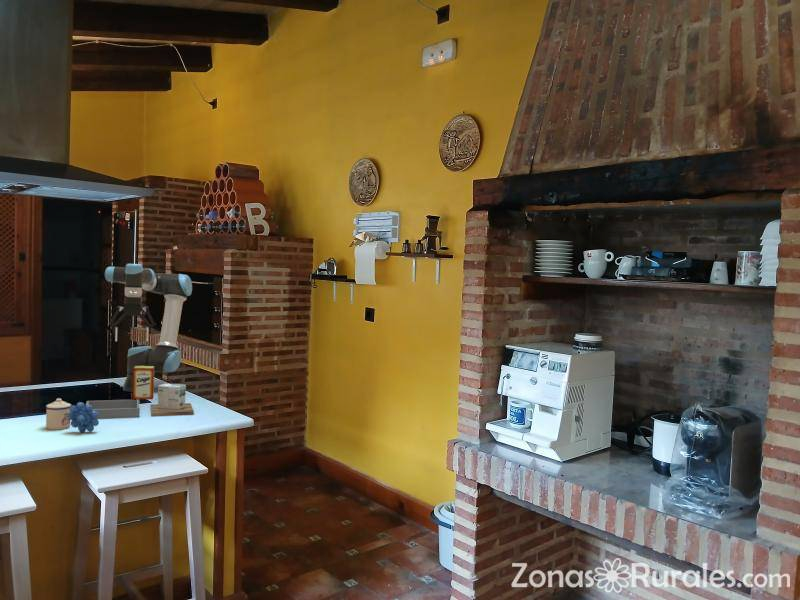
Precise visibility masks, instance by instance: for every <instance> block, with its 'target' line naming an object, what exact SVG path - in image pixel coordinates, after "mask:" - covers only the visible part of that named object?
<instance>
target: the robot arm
mask: <svg viewBox="0 0 800 600" xmlns="http://www.w3.org/2000/svg"><path fill="white" fill-rule="evenodd" d="M104 278H105V280H106V281H107V282H109V283H119V284H124V296H125V297H124V300H123V301H124V302H123V303H124V304H123V305H124V306H119V305H117V307H116V311H115V313H114V315H113V316H112V318H111V320H110V321H109V323H108V326H110V327H112V334H113V335H115V336H114V337H115V339H114V340H115V341H114V342H118V325H119V324H120V323H121V322H122V321H123V320H124V319H125V318H126V317H127V316H129V317H137V316H138V317H139V318H140V319H141V320H142V321H143V322H144V323H145V325H147V327H146V342H149V335H151V334H152V328H153V327H156V324H155V321H154V319H153V317H152V315H151V313H150V311H149V309H150V308H149V306H144V307H143V304H142V303H143V298H142V295H143V290H144V291H146V292H151V293H154V294H159V295H163V296H164V298H165V299H166V301H165V307H164V312H163V319H162V322H161V323H162V325H161V331H160V335H159V336H160V337H159V341H158V343H156V344H155V346H154V348H153V347H152V346H151V345H143V346H136V347H130V348H129V349H128V351H127V352H128V353H127V375H126V379H125V381H124V383H123V386H122V387H123V388H122V390H123V392H126V393H127V392H129V393H133V368H134V366H155V367H154V372H164V373H172V372H173V373H174V372H175V371H177V369H178V368H179V367H180V364H181V360H182V352H181V351H180V350H179V347H178V346H177V340H178V335H179V334H178V333H179V327H180V323H181V315H182V310H183V304H184V302H185V301H187V299H188V297H189V296H191V295H192V291H193V283H192V279H191V278H190V276H189V275H187V274H182V273H165V272H164V273H155V272H154V270H153V269H152V268H148V267H143V264H141V263H126V264H125V267H123V266H108V267H106V269H105V272H104ZM122 310H123V311H124V313H123V315H121V316H120V317H119V318H118V319H117V320H116V322H115V319H116V318H117V316H118V315H119V313H120V312H122ZM142 311H144V312H146V315H147V317H148V319H149V321H150V322H149V321H148V320H147V319H146V318H145V317H144V315H143V314H142ZM114 322H115V323H114Z"/></svg>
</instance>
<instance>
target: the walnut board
mask: <svg viewBox="0 0 800 600" xmlns="http://www.w3.org/2000/svg"><path fill="white" fill-rule="evenodd" d="M150 415H151V417H169V416H170V417H171V416H193V415H195V411H194V408H193V405H192V403H191V402H185V407H184V408H182V409H180V410H175V409H161V408H158V403H156V404H153V403H152V404H151V403H150Z"/></svg>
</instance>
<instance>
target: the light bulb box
mask: <svg viewBox="0 0 800 600" xmlns="http://www.w3.org/2000/svg"><path fill="white" fill-rule="evenodd" d="M186 388H187V385H186V384H179V383H162V384H159V385H157V404H158V408H161V409H175V410H180V409H182V408H184V407H185V403H186V391H187V390H186Z"/></svg>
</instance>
